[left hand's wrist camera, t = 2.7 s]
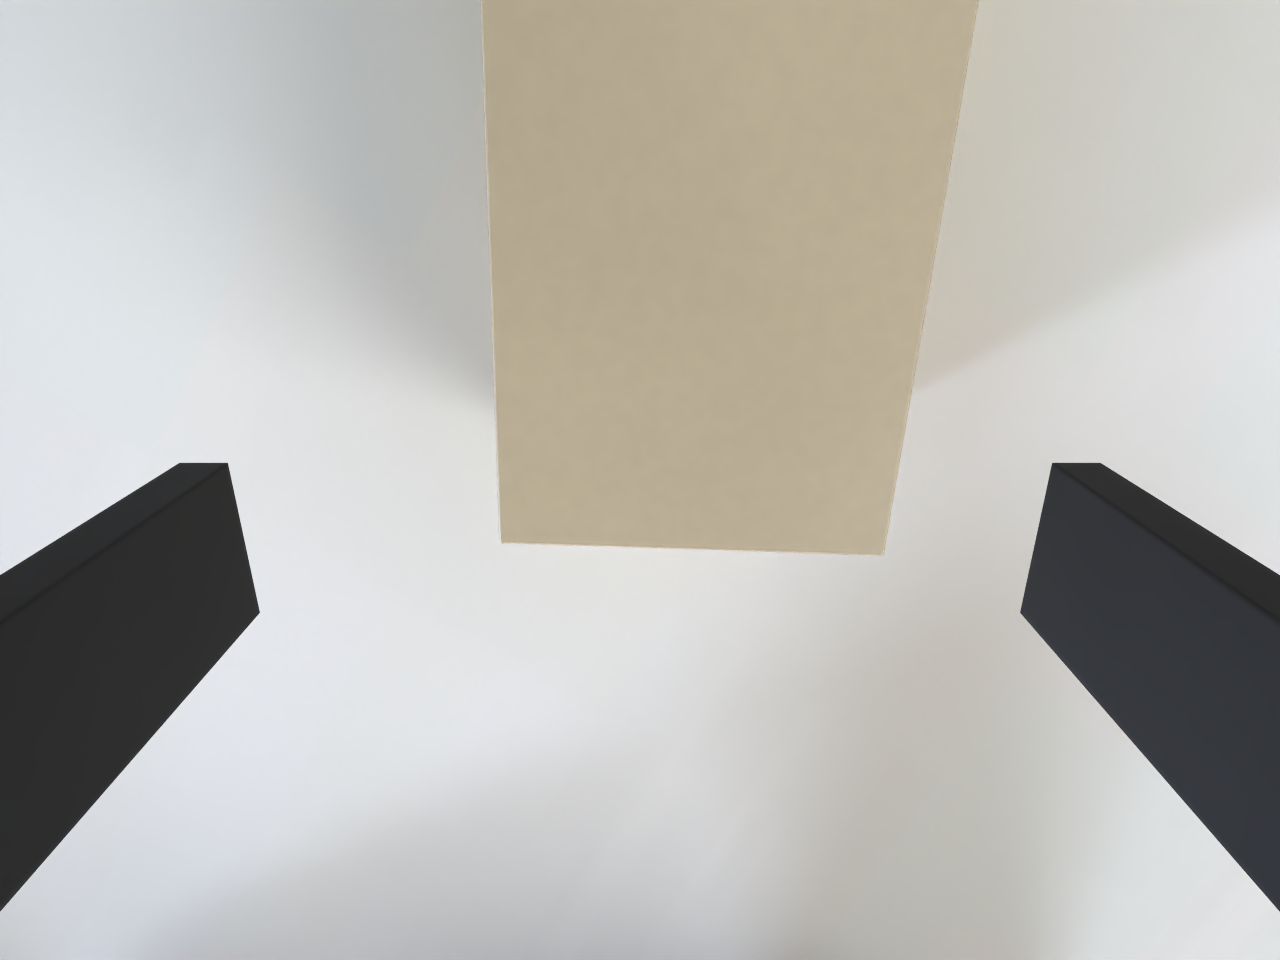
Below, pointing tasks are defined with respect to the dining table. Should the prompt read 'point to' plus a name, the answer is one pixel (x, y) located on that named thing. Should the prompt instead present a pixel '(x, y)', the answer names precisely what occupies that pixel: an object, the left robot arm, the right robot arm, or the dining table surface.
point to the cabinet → (712, 262)
